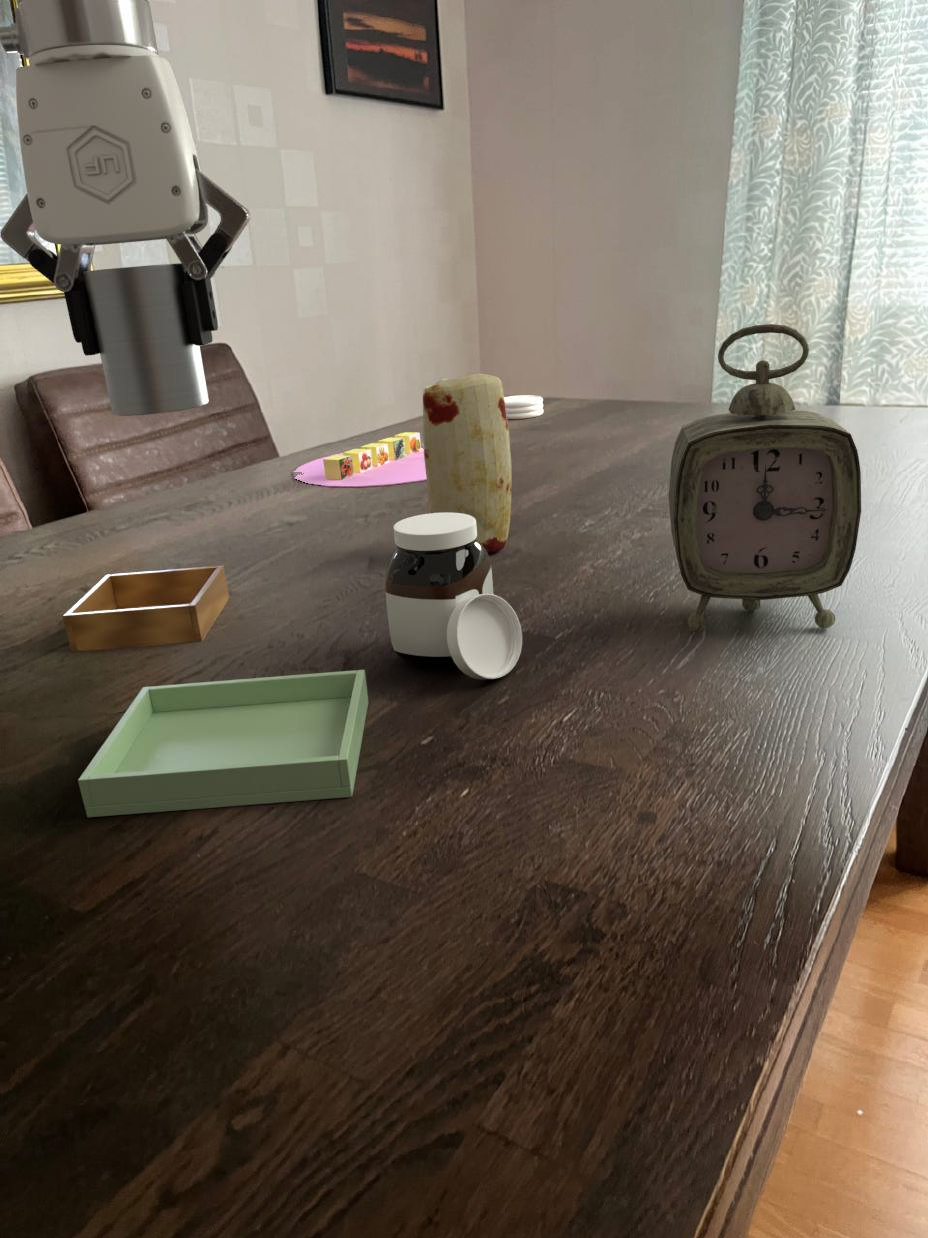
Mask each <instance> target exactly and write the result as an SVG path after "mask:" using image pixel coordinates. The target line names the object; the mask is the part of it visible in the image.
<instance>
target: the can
mask: <svg viewBox="0 0 928 1238" xmlns="http://www.w3.org/2000/svg"><path fill="white" fill-rule="evenodd" d="M185 272H186V270H185V268H184V266H183V265H182V263H181V262H179V263H165V264H151V265H150V264H149V265H139V266H138V265H137V266H136V265H135V266H126V267H125V266H124V267H114V268H113V267H112V268H102V269H94V270H90V271H85V272H83V274H84V279H85V284H86V289H87V293H88V298H89V303H90V308H91V313H92V317H93V322H94V327H95V332H96V337H97V342H98V346H99V351H100V353H99V355H100V360H101V365H102V369H103V375H104V380H105V384H106V389H107V394H108V399H109V404H110V409H111V413H112V415H115V416H124V417H125V416H146V415H158V414H164V413H165V414H166V413H172V412H180V411H184V410H185V411H186V410H190V409H195V408H199V407H202V406H205V405H208V404H209V403H210V399H209V398H210V397H209V392H208V387H207V382H206V381H207V380H206V376H205V370H204V364H203V357H202V352H201V345H200V346H196V345H195V344H192V341H191V336H190V331H189V325H188V319H187V314H186V308H185V302H184V297H183V291H182V284H184V281H186V275H185Z"/></svg>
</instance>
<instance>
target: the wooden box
mask: <svg viewBox="0 0 928 1238" xmlns="http://www.w3.org/2000/svg"><path fill="white" fill-rule="evenodd" d="M229 599H230V594H229V587H228V581H227V575H226V570H225V565H223V564H222V565H212V566H200V567H197V566H196V567H187V568H186V567H185V568H174V569H173V568H172V569H160V570H150V571H149V570H148V571H137V572H136V571H135V572H124V573H112V574H111V573H110V574H106V575H104V577H102V578H101V579H100V580H99V581H98V582H97V583H96V584H95V585H94V586H93V587H92V588H90V590H88V592H87V593H85V594H84V595H83V596H82V597H81V598H80V599H79V600H77V602H76V603H74V605H72V607H70V608H69V609H68V610H67V611H66V612H65V613H64V614H63V615H62V619H63V623H64V627H65V631H66V632H65V633H66V637H67V640H68V644H69V648H70V652H72V653H73V652H85V651H98V650H110V649H123V648H124V649H125V648H133V647H134V648H135V647H136V648H137V647H147V646H148V647H149V646H160V645H161V646H163V645H172V644H173V645H175V644H185V643H198V642H199V643H200V642H203V641H204V639H205V638H206V636H207V634H208V632H209V631H210V629H211V628H212V627H213V625H214V623H215V621H216V620H217V618H218V617H219V615H220V613H221V612H222V611H223V609H224V607H225V606H226V604H227V602H228V601H229Z"/></svg>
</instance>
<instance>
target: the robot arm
mask: <svg viewBox="0 0 928 1238" xmlns="http://www.w3.org/2000/svg"><path fill="white" fill-rule="evenodd" d="M15 3H16V6H17V7H15V8H13V10H14V15H15V18H14V20H15V23H11V24H10V26H0V43H1V46H2V49H3V50H4V51H5V53H8V54H9V53H18V54H19V55H23V57H24V59H26V60H28V64H29V65H24V66H23V65H22V66H19V67H17V68H16V69H15V96H16V97H15V98H16V114H17V122H18V123H17V126H18V135H19V136H18V137H19V144H20V153H21V161H22V167H23V168H22V169H23V174H24V176H23V177H24V182H25V188H26V194H25V196H24V197H23V198H22V200H21V201H20V202H19V204H18V205H17V207H16V208H15V210H14V211H13V212H12V214H11V216H10V217H9V219H8V220H7V222H6V223H5V224H4V225H3V227H2V228H1V230H0V238H1V240H2V242H4V244H6V245H7V246H9V248H11V249H12V250H13V251H14V252H15V253H16V254H18V255H19V256H20V257H21V258H22V259H25V260H26V261H27V262H28V263H29V265H30V266H31V267H32V268H33V269H34V270H36V271H37V272H38V273H40V274H41V275H42V276H43V277H45V278H46V279H47V280H49V281H50V282H51V283H53V285H54V286H55V288H56V289H57V290H58V291H59V292H60V293H61V292H62V293H63V294H64V295H63V296H64V300H65V303H66V308H67V313H68V318H69V323H70V326H71V327H70V328H71V331H72V335H73V339H74V341H75V342H76V343H77V344H80V343H81V349H82V352H83V355H84V356H85V357H87V356H88V357H89V356H95V355H98V354H99V355H100V351H99V346H98V342H97V337H96V332H95V327H94V322H93V317H92V313H91V308H90V303H89V298H88V293H87V289H86V284H85V279H84V274H83V272H85V271H91V268H92V263H93V259H94V254H95V249H96V246H103V245H115V244H123V243H124V244H127V243H139V242H149V241H158V240H166V241H167V242H168V244H169V246H170V247H171V249H172V250H173V252H174V253H175V255H176V257H177V259H178V260H179V261H180V262H179V263H182V265H183V266H184V268H185V270H186V272H185V275H186V281H184V284H182V291H183V297H184V302H185V308H186V314H187V319H188V325H189V331H190V336H191V341H192V344H195V345H196V346H200V347H201V346H205V345H208V344H211V343H213V335H212V332H214V331H218V328H219V323H218V317H217V316H218V315H217V309H216V304H215V297H214V292H213V286H212V285H213V284H212V280H211V279H212V278H214V277H215V274H216V271H217V270H218V268H219V267H220V265H221V264H222V263H223V262H224V260H225V259H226V257H227V256H228V255H229V253H230V252H231V251H232V248H233V246H234V245H235V243H236V241H237V240H238V239H239V237H240V236H241V234H242V232H243V231H244V230H245V228H246V227H247V225H248V224H249V222H250V220H251V212H250V211H249V210H248V208H246V207H245V206H244V205H243V204H242V203H241V202H239V201H238V200H237V199H236V198H234V197H233V196H232V195H230V193H228V191H227V192H226V191H225V189H223V188H222V187H221V186H220V185H218V184H216V183H215V182H214V181H213V180H211V178H209V177H208V176H207V175H206V174H204V173H203V172H202V170H201V166H200V162H199V156H198V153H197V150H196V144H195V142H194V136H193V132H192V129H191V125H190V121H189V118H188V114H187V110H186V108H185V103H184V100H183V98H182V94H181V90H180V87H179V85H178V82H177V79H176V76H175V74H174V71H173V68H172V66H171V63H170V62H169V60H167V58H165V57H162V56H159V50H158V44H157V38H156V32H155V27H154V20H153V16H152V15H153V14H152V10H151V5H150V0H15ZM208 206H210V208H212V209H213V210H214V211H216V212H217V213H218V214H219V216H220V221H219V223H218V225H217V227H216V228H215V231H213V233H212V234H211V235H210V236H209V238H208V239H207V240H206V242H205V243H204V245H202V244H201V241H200V240H199V239H198V237H197V234H198V233H200V232H202V231H204V229H205V228H206V227H207V225H208V223H209V210H208ZM35 233H37V235H38V237H39V238H40V239H42V240H43V241H45V242H47V243H50V244H55V245H60V247H59V253H58V255H57V254H56V253H55V252H53V251H52V250H50V249H48V248H46V246H44V245H43V244H42V242H41V241H39V240H38V239H37V238H36V236H35V235H36V234H35Z"/></svg>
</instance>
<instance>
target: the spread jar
mask: <svg viewBox="0 0 928 1238" xmlns="http://www.w3.org/2000/svg"><path fill="white" fill-rule="evenodd" d="M392 528H393V537H394V544H395V546H396V547H395V550H394V552H393V554H392V556H391V558H390V561H389V563H388V567H387V571H386V576H385V584H384V585H385V586H384V588H385V604H386V615H387V622H388V631H389V637H390V642H391V646H392V648H393V651H394V653H395V654H396V655H397V656H398V657H399V658H400V659H402V660H403V661H405V662H407V663H409V664H411V665H413V666H415V667H418V668H421V669H425V670H435V671H438V670H439V671H441V670H452V669H459V670H460V671H461V672H462V673H463V674H464V675H466V676H467V677H469V678H471V679H475V680H481V681H484V680H495V679H500V678H502V677H504V676H506V675H507V674H509V673H510V672H511V671H512V670H513V669H514V668H515V666H516V665H517V662H518V661H519V659H520V656H521V653H522V647H523V632H522V631H523V630H522V626H521V622H520V620H519V617H518V614H517V612H516V611H515V609H514V608H513V607H512V605H511V604H510V603H509V602H508V601H507V600H506V599H504V598H503V597H501V596H499V595H496V594H494V580H493V570H492V563H491V558H490V555H489V553H487V551H486V549H485V548H484V547H483V545H482V544H481V543H480V542H478V541H477V540H476V537H477V528H476V520H475V518H474V517H472V516H470V515H467V514H462V513H430V512H429V513H424V514H418V515H413V516H410V517H406V518H404V519H401V520H398V521H397V522H396V523H394V525H393V527H392Z"/></svg>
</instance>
